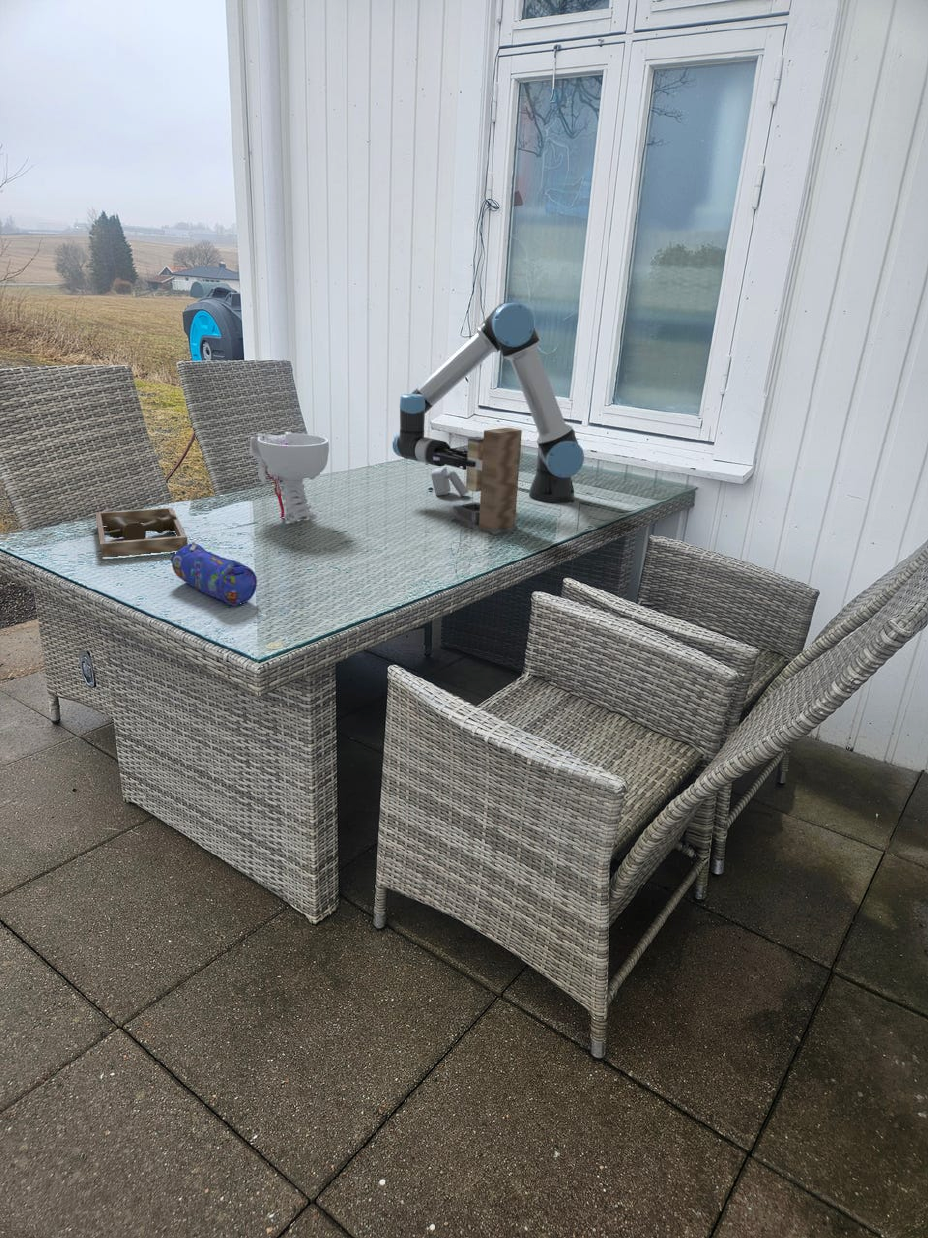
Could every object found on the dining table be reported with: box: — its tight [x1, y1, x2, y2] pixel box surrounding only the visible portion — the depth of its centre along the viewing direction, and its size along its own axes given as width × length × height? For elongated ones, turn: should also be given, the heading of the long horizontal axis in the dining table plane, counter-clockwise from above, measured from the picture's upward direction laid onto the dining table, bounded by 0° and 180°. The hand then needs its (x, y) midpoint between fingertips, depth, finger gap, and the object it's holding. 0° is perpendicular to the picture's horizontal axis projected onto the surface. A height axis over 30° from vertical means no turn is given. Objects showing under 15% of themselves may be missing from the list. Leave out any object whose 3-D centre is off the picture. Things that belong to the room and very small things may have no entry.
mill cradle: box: [94, 506, 189, 557], centre depth 199 cm, size 19×29×4 cm, turn 26°
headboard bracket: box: [451, 427, 523, 536], centre depth 221 cm, size 10×17×28 cm, turn 46°
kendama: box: [104, 514, 178, 541], centre depth 199 cm, size 6×10×20 cm
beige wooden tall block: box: [465, 436, 484, 493], centre depth 223 cm, size 4×4×15 cm
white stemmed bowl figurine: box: [248, 431, 330, 523], centre depth 220 cm, size 25×19×23 cm
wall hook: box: [431, 466, 470, 497], centre depth 257 cm, size 8×10×10 cm
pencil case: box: [169, 541, 258, 606], centre depth 166 cm, size 22×9×10 cm, turn 47°
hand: (490, 465), depth 219 cm, fingers closed on beige wooden tall block, 4 cm apart
